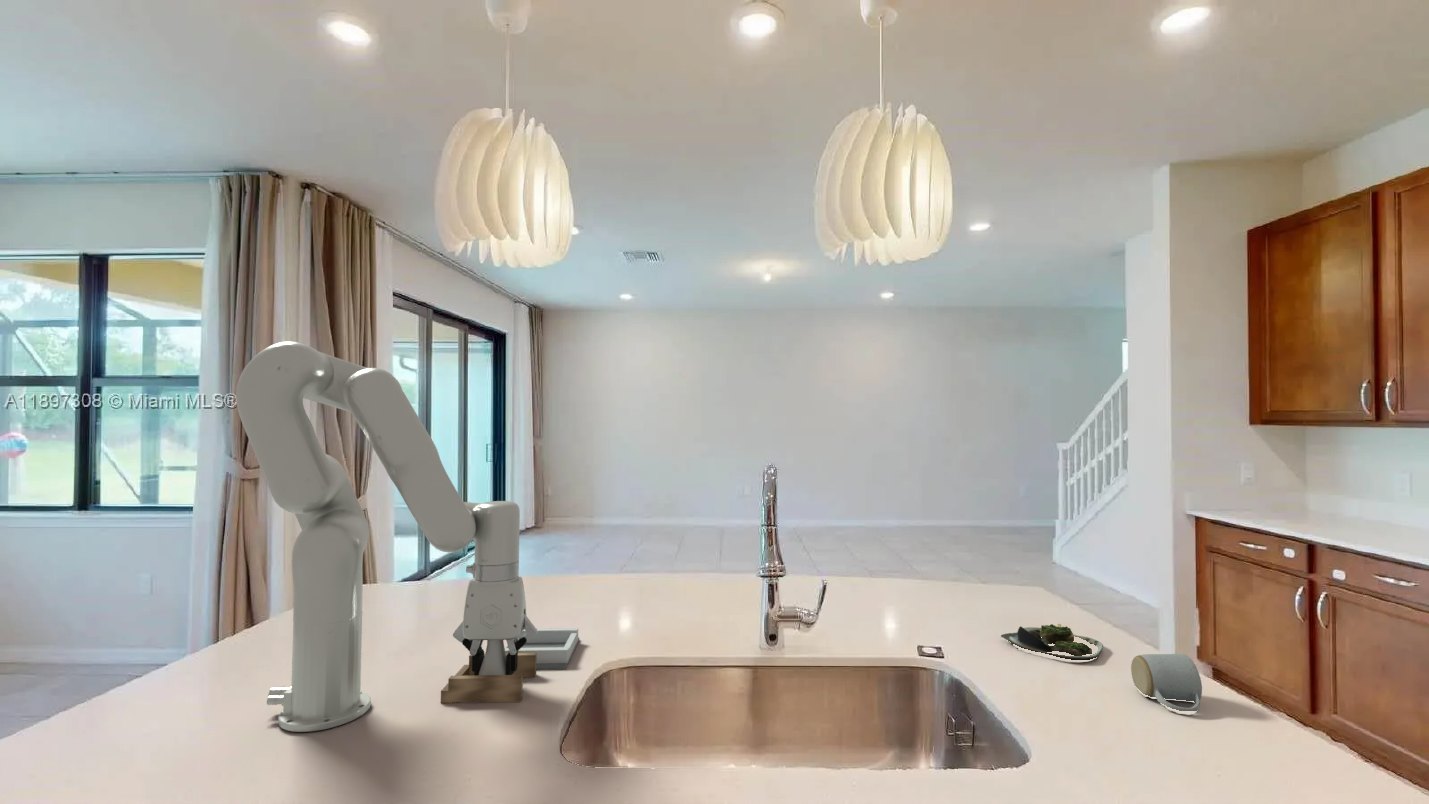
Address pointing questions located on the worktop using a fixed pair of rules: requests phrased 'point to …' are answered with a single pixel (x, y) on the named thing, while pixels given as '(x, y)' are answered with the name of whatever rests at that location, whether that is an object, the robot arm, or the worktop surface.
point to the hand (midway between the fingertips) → (494, 674)
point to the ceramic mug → (1168, 678)
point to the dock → (551, 647)
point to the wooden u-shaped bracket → (489, 683)
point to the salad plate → (1053, 641)
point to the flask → (494, 659)
